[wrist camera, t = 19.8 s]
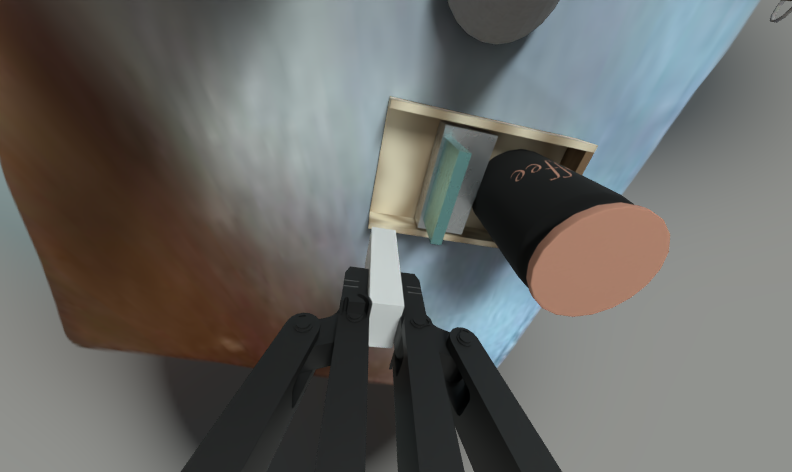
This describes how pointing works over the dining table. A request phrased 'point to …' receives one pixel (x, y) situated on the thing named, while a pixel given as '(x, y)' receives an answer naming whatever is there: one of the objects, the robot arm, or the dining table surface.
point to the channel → (411, 151)
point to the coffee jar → (568, 234)
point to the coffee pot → (513, 17)
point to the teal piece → (453, 179)
